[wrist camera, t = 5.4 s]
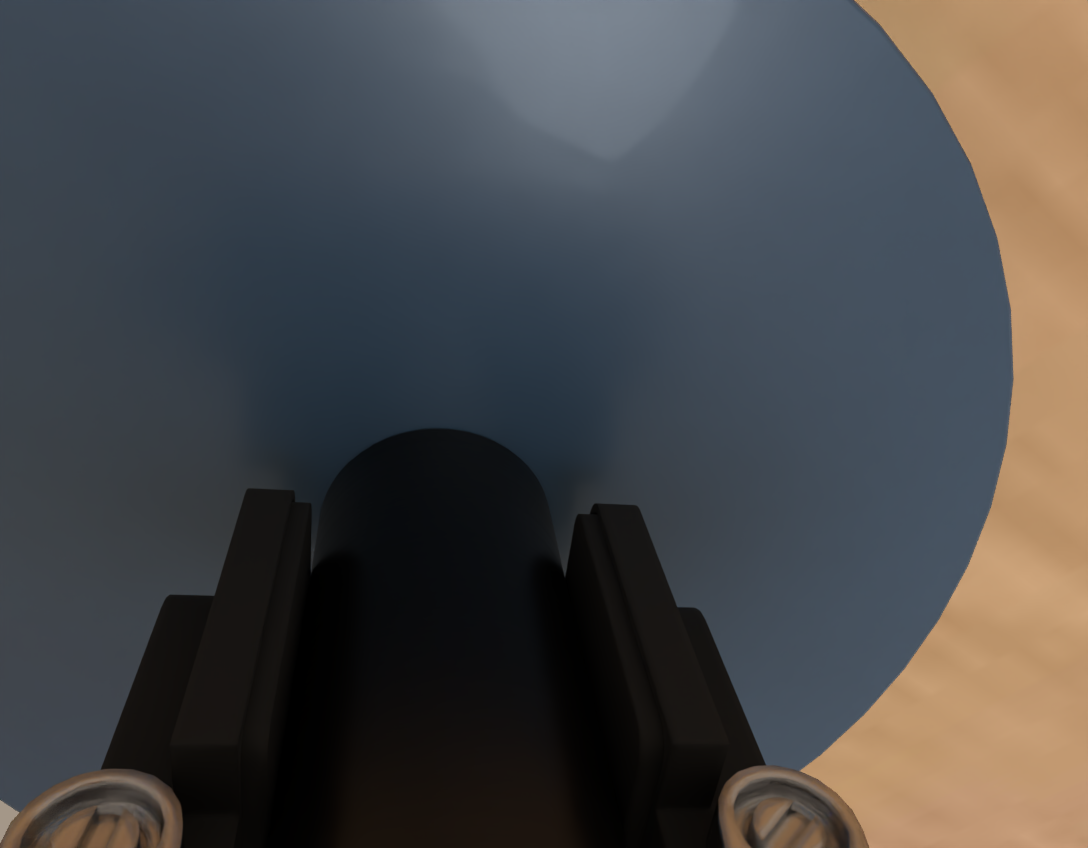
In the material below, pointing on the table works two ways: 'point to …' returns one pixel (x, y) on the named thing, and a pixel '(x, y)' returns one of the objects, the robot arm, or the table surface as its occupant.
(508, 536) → the lid
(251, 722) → the robot arm
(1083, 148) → the table surface
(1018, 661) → the table surface
